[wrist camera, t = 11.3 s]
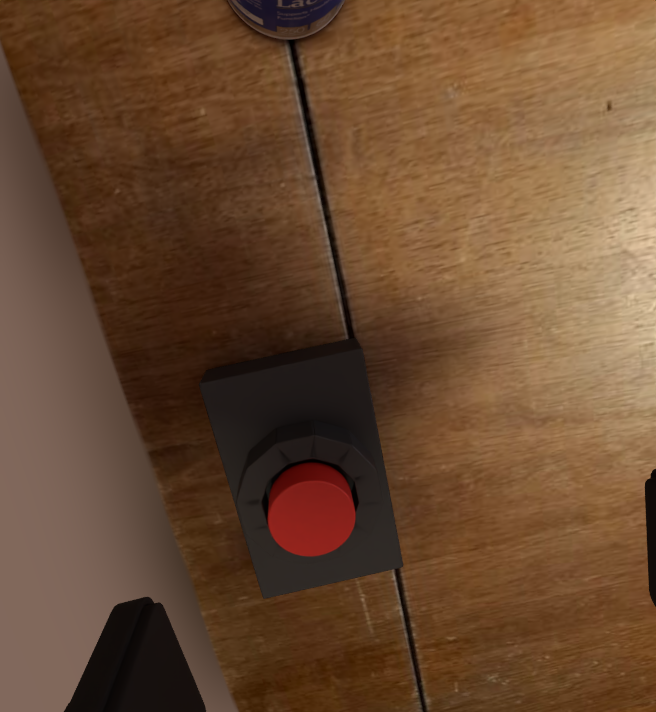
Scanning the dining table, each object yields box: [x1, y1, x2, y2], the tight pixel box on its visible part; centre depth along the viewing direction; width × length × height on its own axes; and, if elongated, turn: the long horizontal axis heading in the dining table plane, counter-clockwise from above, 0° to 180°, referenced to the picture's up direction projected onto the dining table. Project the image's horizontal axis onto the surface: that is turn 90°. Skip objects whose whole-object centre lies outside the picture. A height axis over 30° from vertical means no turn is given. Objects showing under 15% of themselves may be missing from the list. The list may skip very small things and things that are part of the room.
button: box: [268, 462, 356, 556], centre depth 22 cm, size 4×4×2 cm
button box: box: [199, 338, 403, 599], centre depth 24 cm, size 8×13×4 cm, turn 12°
